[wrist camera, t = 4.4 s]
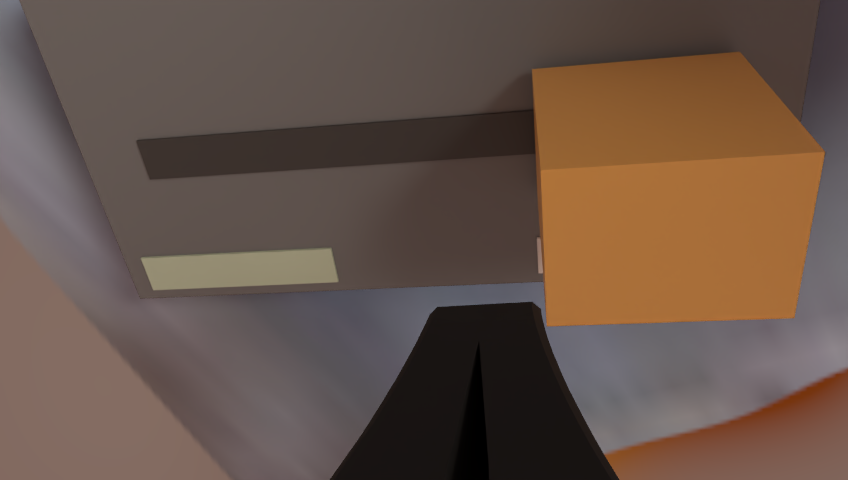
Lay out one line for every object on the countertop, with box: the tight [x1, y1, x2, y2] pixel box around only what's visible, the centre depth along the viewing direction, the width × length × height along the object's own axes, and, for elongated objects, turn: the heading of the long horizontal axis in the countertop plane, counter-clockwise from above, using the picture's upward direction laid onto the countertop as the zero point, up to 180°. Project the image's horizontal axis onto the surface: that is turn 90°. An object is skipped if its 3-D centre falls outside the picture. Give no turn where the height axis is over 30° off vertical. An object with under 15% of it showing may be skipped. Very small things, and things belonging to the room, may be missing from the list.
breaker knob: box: [532, 52, 825, 326], centre depth 13 cm, size 4×3×4 cm
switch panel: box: [19, 0, 820, 299], centre depth 17 cm, size 16×8×2 cm, turn 97°
